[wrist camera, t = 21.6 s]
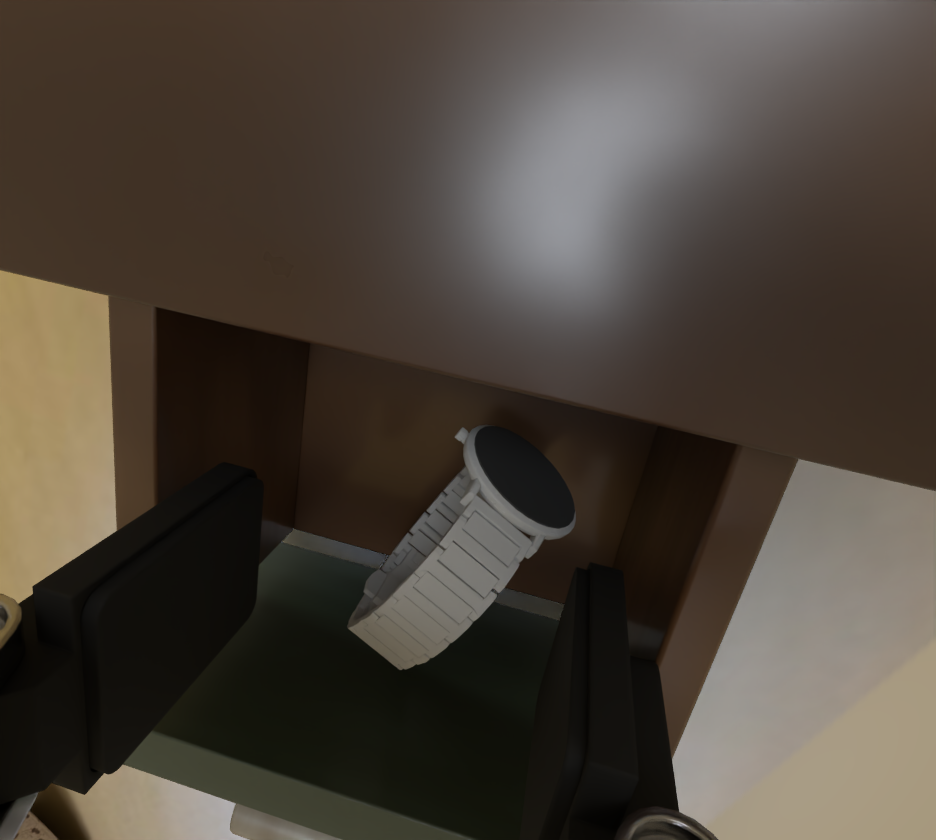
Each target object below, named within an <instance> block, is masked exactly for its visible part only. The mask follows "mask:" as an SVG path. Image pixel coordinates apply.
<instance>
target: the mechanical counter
mask: <svg viewBox="0 0 936 840" xmlns="http://www.w3.org/2000/svg"><path fill="white" fill-rule="evenodd" d="M14 840H59V839H58V838H57V837H56V836H55V835H54V834H53V833H52V832H51V831H50V830H49V829H48V828H47V827H46V826H45V825H44V824H43V823H42V822H41V821H40V820H39V819H38V818H37V817H36V816H35V815H34V814H33V813H32V812H31V811H29V813H28V814H27V816H26V818H25V820H24V822H23V823H22V825H21V827H20V829H19V831H18V833H17V834H16V836H15V838H14Z"/></svg>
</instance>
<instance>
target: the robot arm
mask: <svg viewBox="0 0 936 840" xmlns="http://www.w3.org/2000/svg"><path fill="white" fill-rule="evenodd" d="M263 496H264V484H263V481H262V480H259V479H257V474H256V472H255V471H254V470H253V469H249V468H245V467H242V466H238V465H234V464H231V463H227V462H222V463H220V464H218V465H217V466H215V467H214V468H212V469H210V470H209V471H207V472H206V473H204V474H203V475H201V476H200V477H198V478H197V479H195V480H194V481H192V482H191V483H189V484H188V485H186V486H185V487H183V488H182V489H180V490H179V491H177V492H175V493H174V494H172V495H171V496H169V497H168V498H166V499H165V500H163V501H162V502H160V503H159V504H157V505H156V506H154V507H153V508H151V509H150V510H148V511H147V512H145V513H144V514H142V515H140V516H139V517H137V518H136V519H134V520H133V521H131V522H130V523H128V524H127V525H125V526H124V527H122V528H121V529H119V530H118V531H116V532H115V533H113V534H112V535H110V536H109V537H107V538H105V539H104V540H102V541H101V542H99V543H98V544H96V545H95V546H93V547H92V548H90V549H89V550H87V551H86V552H84V553H83V554H81V555H80V556H78V557H77V558H75V559H74V560H72V561H70V562H69V563H67V564H66V565H64V566H63V567H61V568H60V569H58V570H57V571H55V572H54V573H52V574H51V575H49V576H48V577H46V578H45V579H43V580H42V581H40V582H39V583H37V584H35V585H34V586H33V594H32V595H31V596H29V597H28V598H26V599H25V600H23V601H22V602H20V603H19V604H18V603H17V602H16V601H15V600H14V599H12V598H10V597H8V596H6V595H4V594H0V840H14V838H15V836H16V834H17V833H18V831H19V829H20V827H21V825H22V823H23V822H24V820H25V818H26V816H27V814H28V813H29V811H30V809H31V807H32V805H33V803H34V802H35V799H36V796H37V794H38V792H40V791H43V790H45V789H46V788H47V787H48V786H49V785H50V784H51V783H54V784H56V785H59V786H62V787H65V788H67V789H70V790H73V791H76V792H78V793H81V794H84V795H85V794H86V793H87V792H88V791H89V790H90V788H91V787H92V786H93V785H94V784H95V783H96V782H97V781H98V779H99V778H100V777H101V776H102V775H103V774H104V773H106V774H112V773H114V772H115V771H117V770H118V769H119V768H120V767H121V766H122V765H123V763H124V762H125V761H126V760H127V759H128V758H129V757H130V755H131V754H132V753H133V752H134V751H135V750H136V748H137V747H138V746H139V745H140V744H141V743H142V741H143V740H144V739H145V738H146V737H147V736H148V735H149V733H150V732H151V731H152V730H153V729H154V728H155V726H156V725H157V724H158V723H159V722H160V721H161V720H162V718H163V717H164V716H165V715H166V714H167V713H168V711H169V710H170V709H171V708H172V707H173V706H174V705H175V703H176V702H177V701H178V700H179V699H180V698H181V696H182V695H183V694H184V693H185V692H186V691H187V689H188V688H189V687H190V686H191V685H192V684H193V683H194V681H195V680H196V679H197V678H198V677H199V676H200V674H201V673H202V672H203V671H204V670H205V669H206V668H207V666H208V665H209V664H210V663H211V662H212V661H213V659H214V658H215V657H216V656H217V655H218V654H219V652H220V651H221V650H222V649H223V648H224V647H225V646H226V644H227V643H228V642H229V641H230V640H231V639H232V637H233V636H234V635H235V634H236V633H237V632H238V631H239V629H240V628H241V627H242V626H243V625H244V624H245V622H246V621H247V620H248V619H249V617H250V616H251V614H252V612H253V610H254V607H255V604H256V599H257V585H258V570H259V555H260V541H261V526H262V511H263ZM519 840H718V839H717V838H716V837H715V836H714V834H712V833H711V832H710V831H709V830H707V829H706V828H705V827H704V826H702V825H701V824H700V823H698V822H697V821H696V820H694V819H692V818H690V817H688V816H686V815H684V814H682V813H680V812H679V808H678V800H677V793H676V786H675V779H674V771H673V764H672V757H671V750H670V742H669V735H668V728H667V721H666V713H665V706H664V699H663V692H662V685H661V677H660V672H659V667H658V665H657V664H656V663H655V662H652V661H649V660H645V659H642V658H638V657H635V656H631V655H630V653H629V640H628V627H627V613H626V600H625V587H624V574H623V571H622V570H618V569H615V568H611V567H607V566H604V565H600V564H596V563H593V562H590V563H589V565H588V568H587V570H586V569H582V568H579V567H576V568H575V571H574V574H573V577H572V580H571V584H570V587H569V591H568V594H567V597H566V601H565V604H564V607H563V611H562V614H561V618H560V621H559V624H558V628H557V631H556V634H555V638H554V641H553V645H552V648H551V651H550V655H549V658H548V661H547V665H546V668H545V672H544V675H543V678H542V682H541V685H540V689H539V693H538V698H537V703H536V709H535V717H534V725H533V733H532V742H531V750H530V758H529V766H528V774H527V782H526V790H525V798H524V806H523V815H522V823H521V831H520V839H519Z"/></svg>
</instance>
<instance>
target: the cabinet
mask: <svg viewBox="0 0 936 840" xmlns="http://www.w3.org/2000/svg"><path fill="white" fill-rule="evenodd" d="M0 270H2V271H6V272H10V273H14V274H19V275H23V276H27V277H31V278H36V279H40V280H44V281H48V282H53V283H57V284H61V285H65V286H69V287H74V288H78V289H82V290H86V291H91V292H95V293H99V294H103V295H108V296H112V297H116V298H120V299H124V300H129V301H133V302H137V303H141V304H146V305H150V306H154V307H158V308H163V309H167V310H171V311H175V312H179V313H184V314H188V315H192V316H196V317H201V318H205V319H209V320H213V321H218V322H222V323H226V324H230V325H234V326H239V327H243V328H247V329H251V330H256V331H260V332H264V333H268V334H273V335H277V336H281V337H285V338H289V339H294V340H298V341H302V342H306V343H311V344H315V345H319V346H323V347H328V348H332V349H336V350H340V351H344V352H349V353H353V354H357V355H361V356H366V357H370V358H374V359H378V360H382V361H387V362H391V363H395V364H399V365H404V366H408V367H412V368H416V369H421V370H425V371H429V372H433V373H437V374H442V375H446V376H450V377H454V378H459V379H463V380H467V381H471V382H476V383H480V384H484V385H488V386H492V387H497V388H501V389H505V390H509V391H514V392H518V393H522V394H526V395H531V396H535V397H539V398H543V399H547V400H552V401H556V402H560V403H564V404H569V405H573V406H577V407H581V408H586V409H590V410H594V411H598V412H602V413H607V414H611V415H615V416H619V417H624V418H628V419H632V420H636V421H641V422H645V423H649V424H653V425H657V426H662V427H666V428H670V429H674V430H679V431H683V432H687V433H691V434H696V435H700V436H704V437H708V438H712V439H717V440H721V441H725V442H729V443H734V444H738V445H742V446H746V447H751V448H755V449H759V450H763V451H767V452H772V453H776V454H780V455H784V456H789V457H793V458H797V459H801V460H806V461H810V462H814V463H818V464H822V465H827V466H831V467H835V468H839V469H844V470H848V471H852V472H856V473H861V474H865V475H869V476H873V477H877V478H882V479H886V480H890V481H894V482H899V483H903V484H907V485H911V486H916V487H920V488H924V489H928V490H932V491H936V0H0Z"/></svg>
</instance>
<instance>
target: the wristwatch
mask: <svg viewBox="0 0 936 840" xmlns="http://www.w3.org/2000/svg"><path fill="white" fill-rule="evenodd" d="M455 438H456V439H457V440H459V441H461V440H462V441H461V442H462V443H463V444H464V447H463V457H464V461H465V466H464V467H463V469H462V470H461V471H460V473H458V474H457V475H456V476H455V477H454V478H453V479H452V481H451V482H450V483H449V484H448V485H447V486H446V487H445V489H444V490H443V491H444V492H445V493H446V494H447V495H446V494H445V493H443V492H441V493H440V494H439V495H438V496H437V498H436V499H435V500H434V501H433V502H432V503H431V505H430V506H429V507H428V508H427V510H426V511H427V512H429V513H430V515H428V514H427V513H426V512H424V513H423V514H422V515H421V517H420V518H419V519H418V520H417V521H416V523H415V524H414V525H413V526H412V527H411V529H410V530H409V531H410V532H411V533H412V534H413V536H412V535H410V534H409V533H407V534H406V535H405V536H404V537H403V538H402V540H401V541H400V542H399V544H398V545H397V546H396V547H395V549H394V550H393V552H392V554H391V555H390V556H389V557H388V558H387V560H386V561H385V563H384V564H383V565H382V567H381V568H380V569H378V570H377V571H375V572H374V573H373V574H372V575H371V576H370V577H369V578H368V579H367V581H366V584H365V588H364V591H363V592H364V593H365V594H364V596H363V597H362V599H361V601H360V602H359V604H358V605H357V608H356V610H355V611H354V612H353V613H352V615H351V617H350V619H349V621H348V625H347V627H348V629H349V630H351V631H352V632H353V633H354V634H356V635H357V636H358V637H359V638H361V639H362V640H363V641H364V642H366V643H367V644H368V645H369V646H371V647H372V648H373V649H374V650H375V651H377V652H378V653H379V654H380V655H382V656H383V657H384V658H385V659H387V660H388V661H389V662H390V663H392V664H393V665H394V666H395V667H397V668H398V669H399V670H402V669H408V668H411V667H413V666H414V665H416V664H417V665H419V664H422V663H425V662H427V661H428V660H429V659H430V658H433V657H435V656H436V655H438V654H439V653H440V652H442V651H443V650H444V649H446V648H447V647H448V645H449V644H450V643H452V642H454V641H455V640H456V639H457V638H458V637H459V636H461V635H462V634H463V633H464V632H465V631H466V630H467V629H468V628H469V627H470V626H471V624H472V623H473V621H475V620H477V619H478V618H479V617H480V616H481V615H482V614H483V613H484V611H485V610H486V609H487V608H488V607H489V606H490V605H491V604H492V603H493V601H494V600H495V599H496V597H497V594H496V593H495V592H494V591H493V590H492V589H494V590H495V591H496V592H498V593H500V592H501V591H502V590H503V589H504V588H505V586H506V585H507V583H508V582H509V580H510V579H511V578H512V576H513V575H514V573H515V572H516V570H517V569H518V567H519V565H520V564H519V562H521V561H522V560H523V558H524V557H526V558H527V559H529V558H530V557H531V556H532V555H533V554H534V553H536V552H537V550H538V549H539V547H540V545H541V544H542V542H543V541H544V539H546V540H552V539H560V538H562V537H564V536H565V535H567V534H569V533H570V532H571V530H572V529H573V528H574V525H575V521H576V511H575V506H574V501H573V498H572V495H571V492H570V490H569V488H568V486H567V484H566V482H565V481H564V479H563V478H562V476H561V475H560V473H559V472H558V471H557V469H556V468H555V467H554V465H553V464H552V463H551V462H550V461H549V460H548V459H547V458H546V457H545V456H544V455H543V454H542V453H541V452H540V451H539V450H538V449H537V448H536V447H535V446H533V445H532V444H531V443H530V442H528V441H527V440H525V439H524V438H522V437H521V436H519V435H517V434H516V433H514V432H512V431H510V430H508V429H505V428H502V427H498V426H492V425H481V426H477V427H476V428H474V429H472V430H471V431H470V433H468V431H467V430H466V429H465V428H463V427H462V428H461V429H460V430H459V432H458V433H457V434H456V435H455ZM436 509H437V510H438V511H439V512H440V513H441V514H440V513H439V512H438V511H437V510H436ZM442 514H443V515H444V516H445V517H446V518H447V519H446V518H445V517H444V516H443V515H442ZM448 519H449V520H450V521H451V522H452V523H453V524H452V523H451V522H450V521H449V520H448ZM428 524H429V525H430V526H429V525H428ZM514 526H515V527H516V528H515V527H514ZM517 528H518V529H519V530H521V531H523V532H525V533H527V534H528V535H531V536H530V539H529V538H527V537H526V536H525V535H524V534H523V533H521V532H520V531H519V530H518V529H517ZM418 529H419V530H420V531H422V532H423V533H424V534H425V535H427V536H428V537H429V538H430V539H431V540H433V541H434V542H435V543H436V544H438V545H439V546H440V547H441V548H440V547H439V546H438V545H436V544H435V543H434V542H432V541H431V540H430V539H429V538H428V537H426V536H425V535H424V534H423V533H421V532H420V531H419V530H418ZM434 529H435V530H436V531H435V530H434ZM440 534H441V535H442V536H441V535H440ZM408 542H409V543H410V544H412V545H413V546H414V547H415V548H416V549H418V550H419V551H420V552H421V553H422V554H424V555H425V556H426V557H425V556H424V555H422V554H421V553H420V552H419V551H418V550H416V549H415V548H414V547H413V546H411V545H410V544H409V543H408ZM443 549H444V550H443ZM394 554H395V555H396V556H395V555H394Z"/></svg>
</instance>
